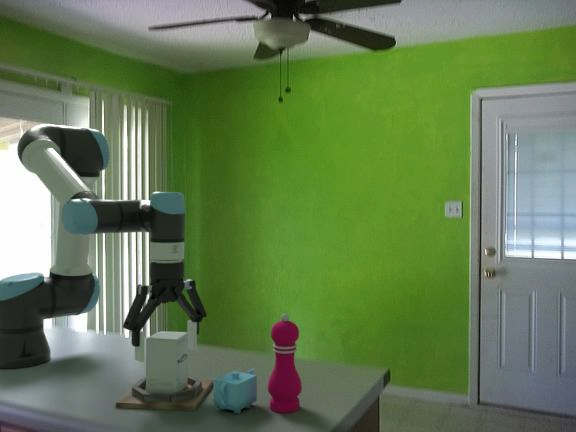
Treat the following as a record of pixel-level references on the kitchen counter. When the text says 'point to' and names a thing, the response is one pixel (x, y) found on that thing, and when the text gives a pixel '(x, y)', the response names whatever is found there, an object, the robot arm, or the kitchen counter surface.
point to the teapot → (235, 391)
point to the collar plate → (166, 396)
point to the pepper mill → (284, 368)
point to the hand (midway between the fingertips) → (166, 354)
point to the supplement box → (166, 362)
